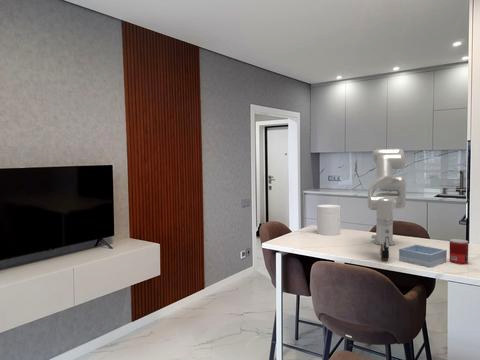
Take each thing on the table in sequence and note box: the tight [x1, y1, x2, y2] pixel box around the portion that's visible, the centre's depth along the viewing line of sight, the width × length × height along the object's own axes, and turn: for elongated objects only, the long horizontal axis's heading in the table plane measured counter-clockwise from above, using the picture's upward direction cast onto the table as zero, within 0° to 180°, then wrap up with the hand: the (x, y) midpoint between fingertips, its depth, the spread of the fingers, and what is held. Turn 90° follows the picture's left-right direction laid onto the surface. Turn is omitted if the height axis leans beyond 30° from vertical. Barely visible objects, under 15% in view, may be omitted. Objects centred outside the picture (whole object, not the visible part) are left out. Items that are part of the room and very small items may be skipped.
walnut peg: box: [380, 243, 389, 262], centre depth 186 cm, size 4×4×10 cm
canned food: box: [449, 238, 469, 265], centre depth 180 cm, size 8×8×11 cm
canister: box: [316, 204, 341, 237], centre depth 257 cm, size 16×16×20 cm
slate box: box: [398, 244, 448, 268], centre depth 183 cm, size 16×16×6 cm
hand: (384, 256), depth 186 cm, fingers closed on walnut peg, 3 cm apart
